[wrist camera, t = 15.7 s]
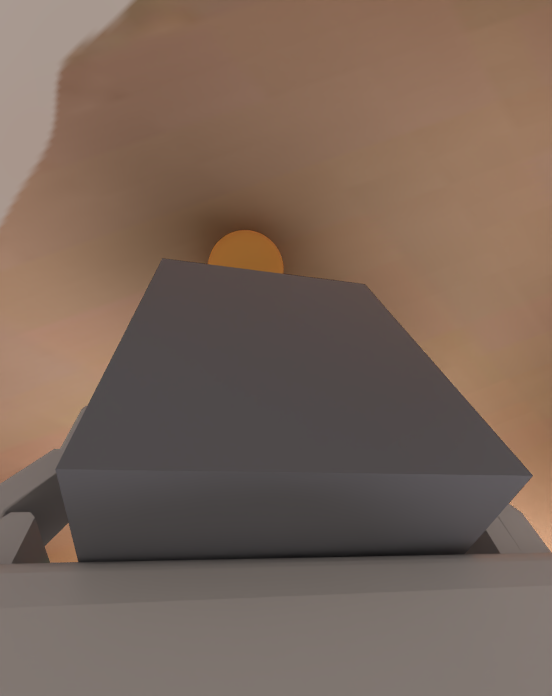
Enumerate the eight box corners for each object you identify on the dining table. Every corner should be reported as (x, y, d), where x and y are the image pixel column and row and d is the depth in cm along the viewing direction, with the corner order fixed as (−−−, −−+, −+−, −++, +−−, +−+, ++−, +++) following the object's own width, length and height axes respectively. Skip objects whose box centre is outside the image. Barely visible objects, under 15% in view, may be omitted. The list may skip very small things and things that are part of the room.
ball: (302, 247, 20) (219, 239, 18) (286, 321, 23) (211, 320, 21) (275, 225, 24) (205, 217, 22) (264, 291, 27) (200, 288, 25)
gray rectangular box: (364, 284, 13) (532, 475, 6) (318, 424, 17) (386, 643, 10) (162, 258, 12) (55, 469, 5) (162, 418, 16) (105, 669, 8)
